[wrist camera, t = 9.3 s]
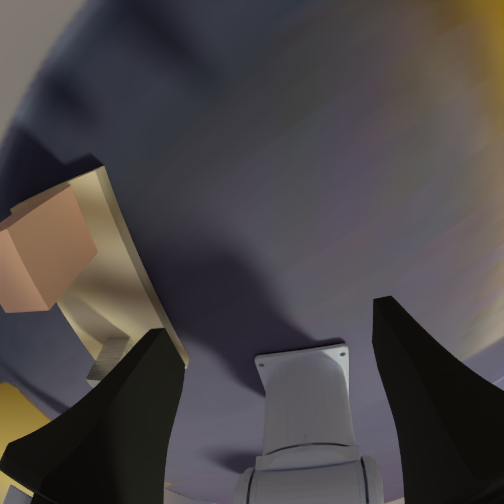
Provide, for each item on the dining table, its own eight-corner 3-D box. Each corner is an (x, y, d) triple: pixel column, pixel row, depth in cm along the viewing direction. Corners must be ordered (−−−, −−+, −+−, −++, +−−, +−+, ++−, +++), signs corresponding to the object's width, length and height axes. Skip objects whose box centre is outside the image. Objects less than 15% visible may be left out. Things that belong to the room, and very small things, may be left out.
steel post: (143, 357, 25) (125, 400, 21) (120, 357, 26) (102, 398, 21) (130, 336, 24) (109, 381, 20) (107, 337, 24) (85, 379, 20)
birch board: (189, 358, 26) (186, 368, 25) (105, 359, 28) (101, 368, 27) (104, 165, 18) (95, 170, 17) (18, 203, 20) (10, 209, 19)
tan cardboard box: (98, 252, 20) (49, 310, 14) (52, 262, 21) (6, 312, 15) (71, 185, 17) (7, 228, 12) (26, 204, 18) (-31, 245, 13)
